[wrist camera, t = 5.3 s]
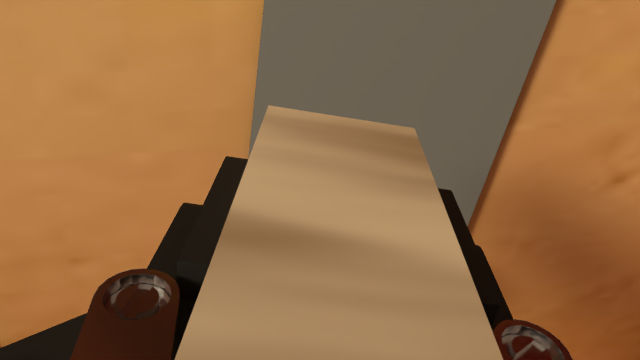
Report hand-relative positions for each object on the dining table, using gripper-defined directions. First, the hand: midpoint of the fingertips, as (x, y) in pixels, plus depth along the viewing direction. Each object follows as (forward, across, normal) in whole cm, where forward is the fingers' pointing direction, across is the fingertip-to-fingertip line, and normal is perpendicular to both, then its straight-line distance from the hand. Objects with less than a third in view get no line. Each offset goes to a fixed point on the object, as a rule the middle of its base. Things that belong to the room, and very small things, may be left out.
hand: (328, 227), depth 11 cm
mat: (+17, -3, +6) cm, 19 cm away
